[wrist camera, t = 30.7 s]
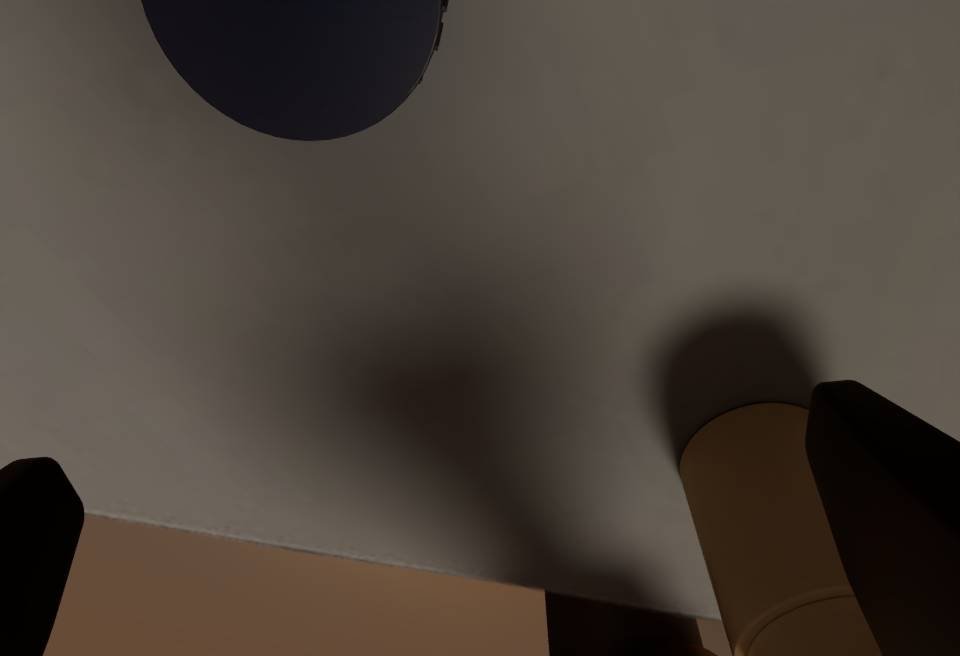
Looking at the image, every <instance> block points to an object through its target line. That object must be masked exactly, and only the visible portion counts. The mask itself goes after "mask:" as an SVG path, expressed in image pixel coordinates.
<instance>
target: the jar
mask: <svg viewBox="0 0 960 656" xmlns="http://www.w3.org/2000/svg"><path fill="white" fill-rule="evenodd" d="M808 413H809V410H807V409H804V408H801V407H799V406H795V405H791V404H784V403H760V404H753V405H748V406H744V407H740V408H737V409H734V410H732V411H729V412H726V413H724V414H722V415H720V416H718V417H716V418H715V419H713V420H712V421H710V422H709V423H707V424H706V425H705V426H703V427H702V428H701V429H700V430H699V431H698V432H697V433H696V434H695V435H694V436H693V437H692V438H691V440H690V441H689V442H688V444H687V446H686V447H685V449H684V452H683V454H682V457H681V461H680V478H681V481H682V485H683V488H684V492H685V495H686V499H687V502H688V505H689V509H690V512H691V516H692V519H693V522H694V526H695V529H696V533H697V536H698V539H699V543H700V546H701V550H702V553H703V556H704V560H705V563H706V567H707V570H708V573H709V577H710V580H711V584H712V587H713V590H714V594H715V597H716V601H717V604H718V607H719V611H720V614H721V618H722V621H723V624H724V628H725V631H726V635H727V638H728V641H729V645H730V648H731V651H732V655H733V656H883V655H882V653H881V651H880V649H879V647H878V645H877V642H876V640H875V638H874V636H873V634H872V632H871V630H870V627H869V625H868V623H867V621H866V619H865V617H864V615H863V612H862V610H861V608H860V606H859V604H858V602H857V599H856V597H855V595H854V592H853V590H852V588H851V586H850V583H849V581H848V579H847V576H846V573H845V570H844V567H843V564H842V562H841V559H840V556H839V553H838V550H837V547H836V544H835V541H834V538H833V535H832V532H831V529H830V525H829V522H828V519H827V516H826V513H825V510H824V507H823V504H822V501H821V498H820V495H819V492H818V489H817V486H816V483H815V480H814V477H813V474H812V471H811V468H810V465H809V462H808V458H807V454H806V449H805V434H806V427H807V420H808Z"/></svg>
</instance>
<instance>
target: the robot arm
mask: <svg viewBox="0 0 960 656" xmlns="http://www.w3.org/2000/svg"><path fill="white" fill-rule="evenodd" d="M805 449H806V454H807V458H808V462H809V465H810V468H811V471H812V474H813V477H814V480H815V483H816V486H817V489H818V492H819V495H820V498H821V501H822V504H823V507H824V510H825V513H826V516H827V519H828V522H829V525H830V529H831V532H832V535H833V538H834V541H835V544H836V547H837V550H838V553H839V556H840V559H841V562H842V564H843V567H844V570H845V573H846V576H847V579H848V581H849V583H850V586H851V588H852V590H853V592H854V595H855V597H856V599H857V602H858V604H859V606H860V608H861V610H862V612H863V615H864V617H865V619H866V621H867V623H868V625H869V627H870V630H871V632H872V634H873V636H874V638H875V640H876V642H877V645H878V647H879V649H880V651H881V653H882V655H883V656H960V442H959V441H957V440H956V439H954V438H952V437H951V436H949V435H947V434H945V433H944V432H942V431H940V430H939V429H937V428H935V427H934V426H932V425H930V424H929V423H927V422H925V421H923V420H922V419H920V418H918V417H917V416H915V415H913V414H912V413H910V412H908V411H907V410H905V409H903V408H901V407H900V406H898V405H896V404H895V403H893V402H891V401H890V400H888V399H886V398H884V397H883V396H881V395H879V394H878V393H876V392H874V391H873V390H871V389H869V388H868V387H866V386H864V385H862V384H861V383H859V382H857V381H854V380H841V381H831V382H821V383H819V384H817V385H816V386H815V387H814V389H813V391H812V394H811V400H810V407H809V413H808V420H807V427H806V434H805ZM83 523H84V507H83V503H82V501H81V499H80V497H79V496H78V494H77V493H76V491H75V489H74V488H73V486H72V484H71V483H70V481H69V479H68V478H67V476H66V475H65V473H64V471H63V470H62V468H61V466H60V465H59V464H58V462H56V461H55V460H54V459H52V458H49V457H37V458H27V459H20V460H16V461H13V462H11V463H10V464H8V465H7V466H5V467H4V468H2V469H1V470H0V656H43V653H44V651H45V648H46V646H47V643H48V640H49V637H50V634H51V631H52V628H53V625H54V622H55V619H56V615H57V612H58V609H59V605H60V602H61V598H62V595H63V592H64V588H65V585H66V581H67V578H68V574H69V571H70V568H71V564H72V561H73V558H74V554H75V551H76V547H77V544H78V541H79V537H80V533H81V530H82V527H83Z"/></svg>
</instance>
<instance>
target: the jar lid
mask: <svg viewBox="0 0 960 656" xmlns="http://www.w3.org/2000/svg"><path fill="white" fill-rule="evenodd" d="M141 1H142V4H143V8H144V11H145V14H146V17H147V19H148V22H149V24H150V26H151V29H152V31H153V33H154V36H155V38H156V39H157V41H158V43H159V45H160V46H161V48H162V50H163V52H164V53H165V55H166V57H167V58H168V59H169V61H170V62H171V64H172V65H173V66H174V68H175V69H176V71H177V72H178V73H179V74H180V75H181V77H182V78H183V79H184V80H185V81H186V82H187V83H188V84H189V86H190V87H191V88H192V89H193V90H194V91H195V92H197V93H198V94H199V95H200V96H201V97H202V98H203V99H204V100H205V101H206V102H208V103H209V104H210V105H212V106H213V107H215V108H216V109H217V110H219V111H220V112H221V113H223V114H224V115H226V116H228V117H230V118H231V119H233V120H235V121H237V122H238V123H240V124H242V125H245V126H247V127H249V128H251V129H254V130H256V131H259V132H262V133H265V134H268V135H272V136H275V137H280V138H286V139H291V140H303V141H318V140H330V139H335V138H340V137H345V136H348V135H351V134H354V133H357V132H360V131H362V130H364V129H366V128H368V127H370V126H372V125H374V124H376V123H378V122H379V121H381V120H382V119H384V118H385V117H386V116H388V115H389V114H391V113H392V112H393V111H394V110H395V109H396V108H397V107H398V106H400V105H401V104H402V103H403V102H404V101H405V100H406V98H407V97H408V96H409V95H410V93H411V92H412V91H413V90H414V89H415V87H416V86H417V84H418V83H419V84H420V82H421V81H422V78H423V74H424V73H425V71H426V69H427V66H428V64H429V62H430V59H431V57H432V55H433V52H434V50H436V51H437V50H438V47H439V43H440V38H441V33H442V28H443V23H442V22H441V20H442V16H443V12H446V11H447V6H448V1H449V0H141Z"/></svg>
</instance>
